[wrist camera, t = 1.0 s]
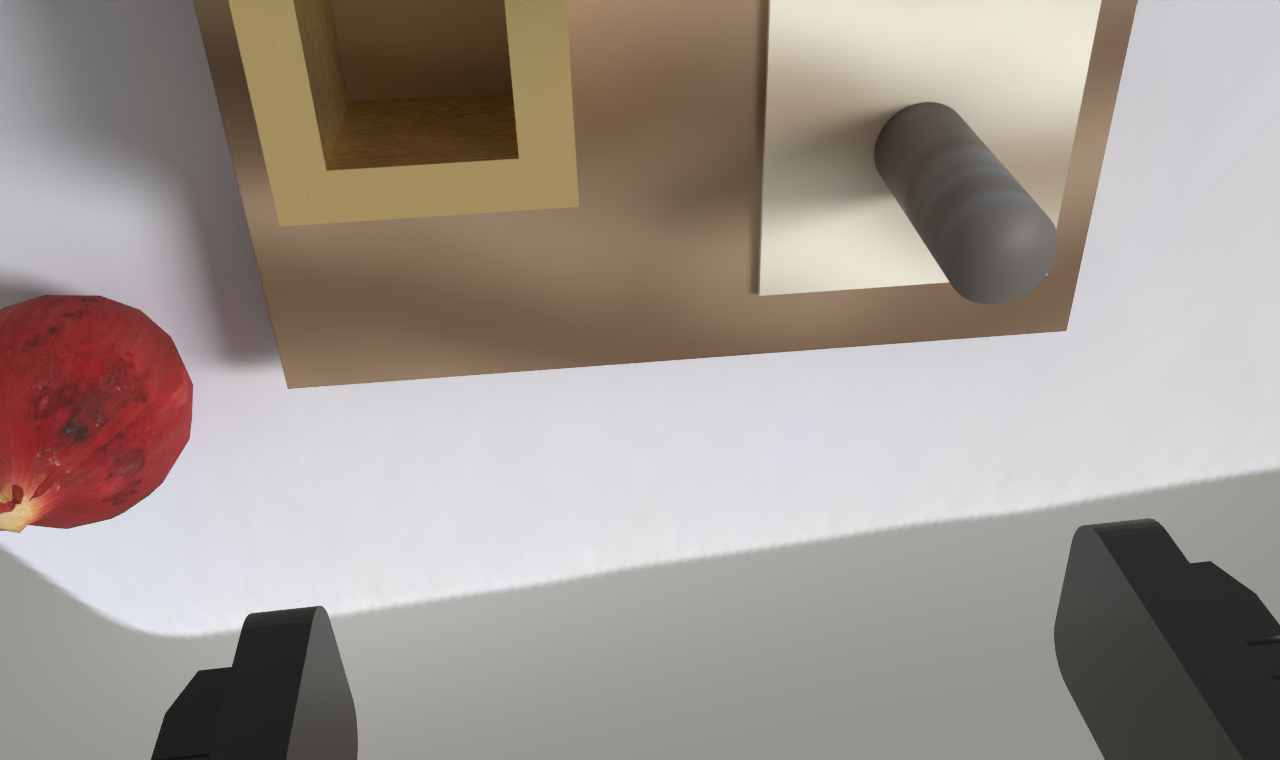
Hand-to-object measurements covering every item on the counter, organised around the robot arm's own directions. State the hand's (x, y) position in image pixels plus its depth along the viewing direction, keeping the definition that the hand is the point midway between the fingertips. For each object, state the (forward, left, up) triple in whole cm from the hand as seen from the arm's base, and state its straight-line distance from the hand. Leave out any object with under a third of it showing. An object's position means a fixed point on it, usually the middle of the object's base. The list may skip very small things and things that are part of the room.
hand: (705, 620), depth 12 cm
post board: (0, +2, -20) cm, 20 cm away
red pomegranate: (+7, -14, -20) cm, 26 cm away
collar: (-2, -4, -18) cm, 18 cm away
